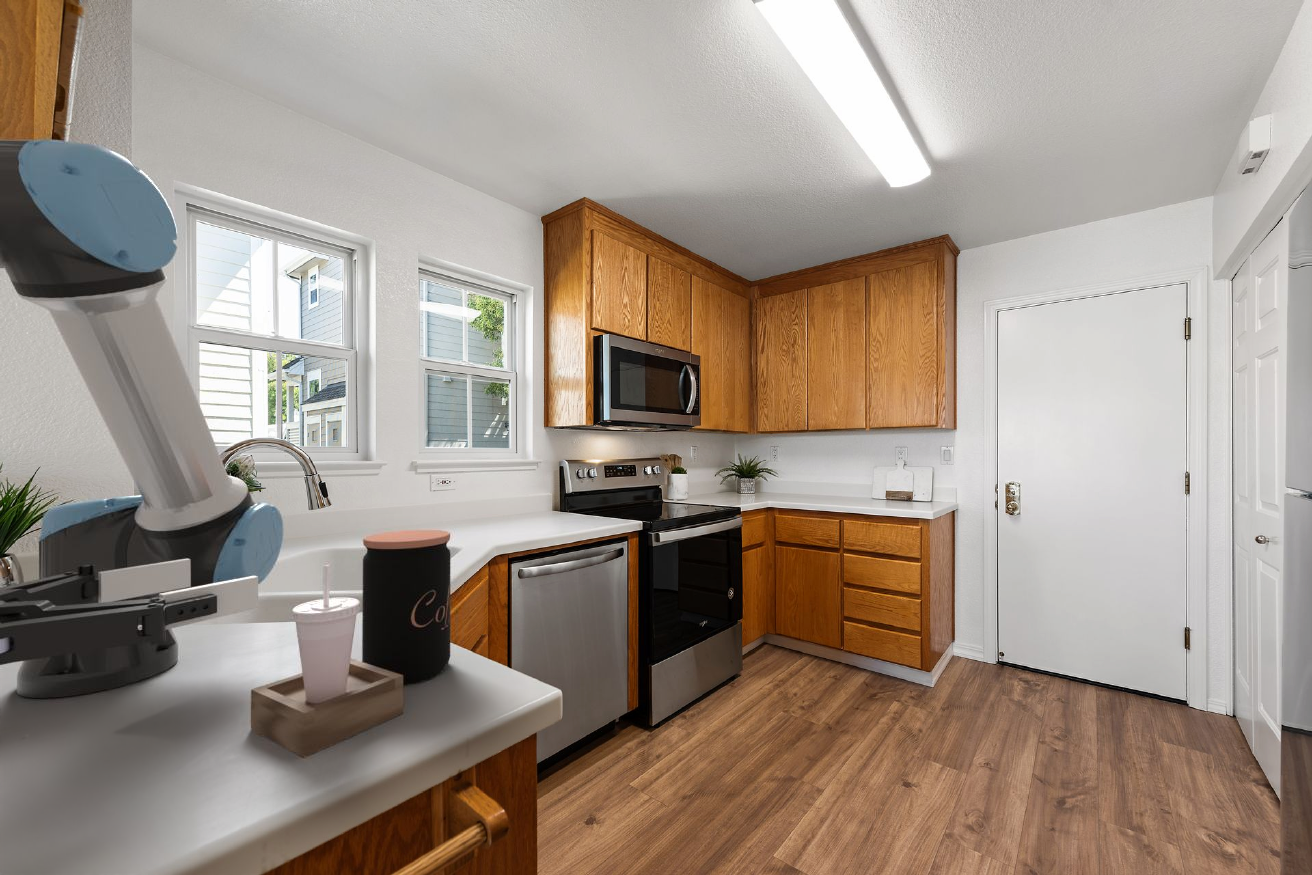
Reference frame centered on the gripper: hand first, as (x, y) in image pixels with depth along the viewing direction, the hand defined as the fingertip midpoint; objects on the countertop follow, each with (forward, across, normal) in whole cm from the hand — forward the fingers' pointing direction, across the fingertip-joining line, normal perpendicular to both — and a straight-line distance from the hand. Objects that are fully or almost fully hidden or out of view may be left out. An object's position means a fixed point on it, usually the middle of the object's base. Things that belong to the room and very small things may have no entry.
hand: (220, 581), depth 53 cm
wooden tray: (+10, 0, -17) cm, 20 cm away
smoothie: (+10, 0, -15) cm, 17 cm away
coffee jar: (+23, -5, -18) cm, 30 cm away
